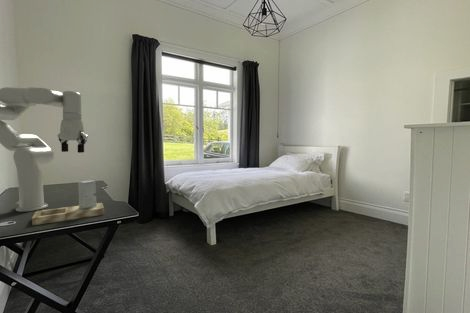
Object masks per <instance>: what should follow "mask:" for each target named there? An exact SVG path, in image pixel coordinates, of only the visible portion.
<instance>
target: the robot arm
mask: <svg viewBox="0 0 470 313" xmlns="http://www.w3.org/2000/svg"><path fill="white" fill-rule="evenodd" d="M36 105H45V106H51V107H52V106H53V107H58V108H62V119H61V122H60V128H59V129H60V130H59V133H58V134H57V138H58V141H59V142H60V145H61V148H60V149H61V152H62V153H64V152H66V153H67V152H69V143H68V142H69V141H76V142H77V143H78V144H77V153H80V154H81V153H84V152H85V145H86V143H87V141H88V138H89V135H88V134H87V133H85V132H84V131H85V130H84V124H83V123H84V122H83V120H82V95H81V93H80V92H77V91H74V90H73V91H71V90H65V91H58V90H55V89H51V88H45V87H28V88H27V87H26V88H25V87H23V88H22V87H7V86H6V87H1V88H0V145H2V147H4V148H5V149H6V150H8V151H10V152H13V156H12V157H13V158H12V159H13V161H14V164H15V167H16V168H15V169H16V173H17V185H18V186H17V187H18V198H19V200H18V201H16V202H15V205H18V206H17V207H16V208H15V211H16V212H20V213H24V212H26V213H27V212H33V211H40V210H44V209H46V208H48V207H49V204H48V203H46V202H45V199H44V198H45V197H44V183H43V182H44V181H43V173H42V169H41V168H40V167H39V165H46V164H50V163H51V162H53V160H54V158H55V154H54V151H53V149H52V148H51V147H50V146H49V145H48V144H47V143H46V142H45V141H43V140H42V139H41V138H40V137H39V136H37V135H36V134H34V133H30V132H20V131H17V130H16V129H14V128H13V127H12V126H11V125H10V124H8V123H6V122H5V121H15V120H17V119H18V118H19V117H20V116H22V115H23V114H24V113H25V112H26V111H27V110H28V109H29V108H30V107H35V106H36Z"/></svg>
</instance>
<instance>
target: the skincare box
mask: <svg viewBox="0 0 470 313" xmlns="http://www.w3.org/2000/svg"><path fill="white" fill-rule="evenodd" d="M77 185H78V186H77V187H78V189H77V190H78V206H79V208H89V207H93V206H96V205H97V203H98V202H97V185H96V180H92V179H91V180H84V181H83V180H82V181H78V182H77Z"/></svg>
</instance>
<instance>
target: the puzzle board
mask: <svg viewBox="0 0 470 313" xmlns="http://www.w3.org/2000/svg"><path fill="white" fill-rule="evenodd" d="M96 203H97V205H96V206H93V207H89V208H79V205H72V206H66V207H59V208H50V209H41V210H35V212H34V214H33V216H32V217H31V224H32V226H38V225H43V224H49V223H50V224H51V223H57V222H65V221H70V220H77V219H83V218H90V217H96V216H102V215H105V207H104V204H103V202H96Z"/></svg>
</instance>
